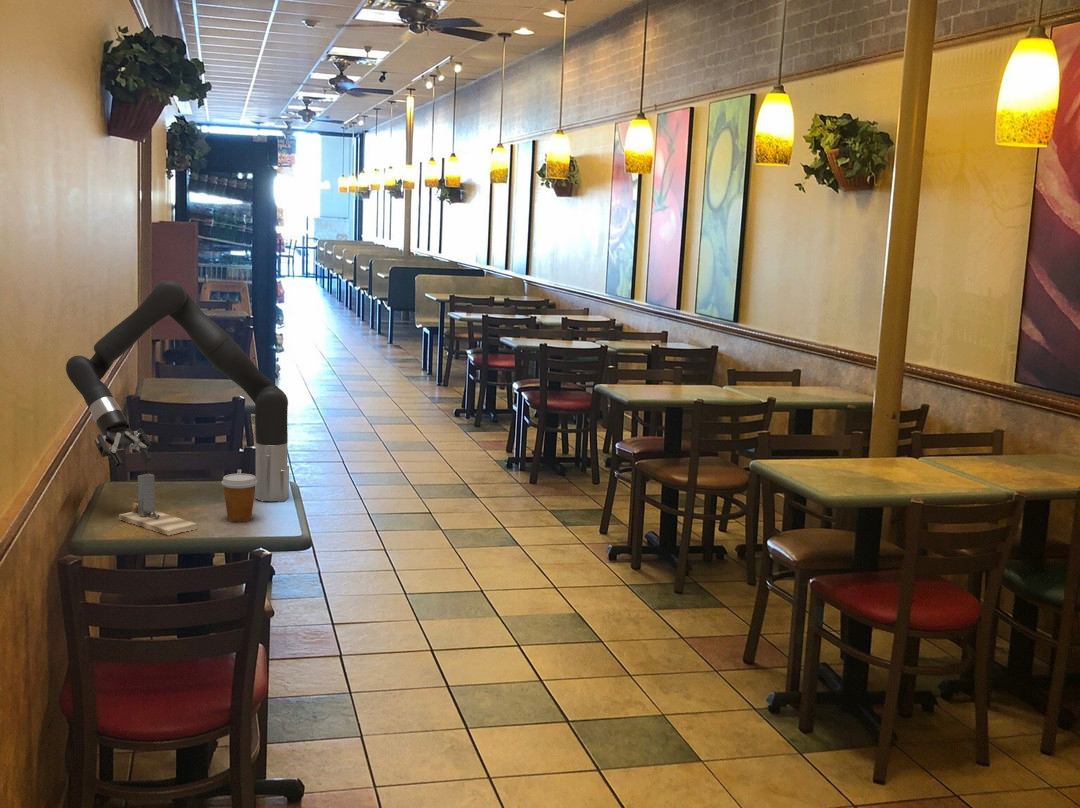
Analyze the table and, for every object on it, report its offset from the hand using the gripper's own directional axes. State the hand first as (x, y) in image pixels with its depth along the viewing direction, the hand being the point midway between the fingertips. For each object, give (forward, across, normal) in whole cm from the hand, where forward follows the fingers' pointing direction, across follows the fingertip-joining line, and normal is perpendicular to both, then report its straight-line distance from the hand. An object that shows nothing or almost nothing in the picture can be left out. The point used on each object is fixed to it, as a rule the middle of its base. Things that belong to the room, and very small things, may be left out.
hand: (134, 464), depth 290 cm
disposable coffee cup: (+26, +18, -4) cm, 32 cm away
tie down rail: (+18, 0, +4) cm, 18 cm away
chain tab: (+13, 0, +5) cm, 14 cm away
